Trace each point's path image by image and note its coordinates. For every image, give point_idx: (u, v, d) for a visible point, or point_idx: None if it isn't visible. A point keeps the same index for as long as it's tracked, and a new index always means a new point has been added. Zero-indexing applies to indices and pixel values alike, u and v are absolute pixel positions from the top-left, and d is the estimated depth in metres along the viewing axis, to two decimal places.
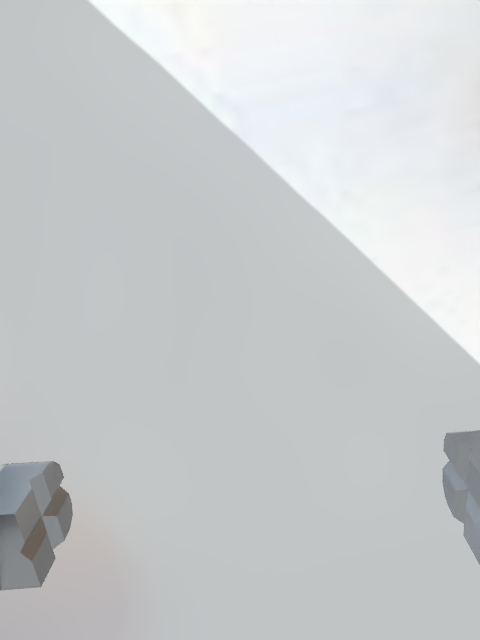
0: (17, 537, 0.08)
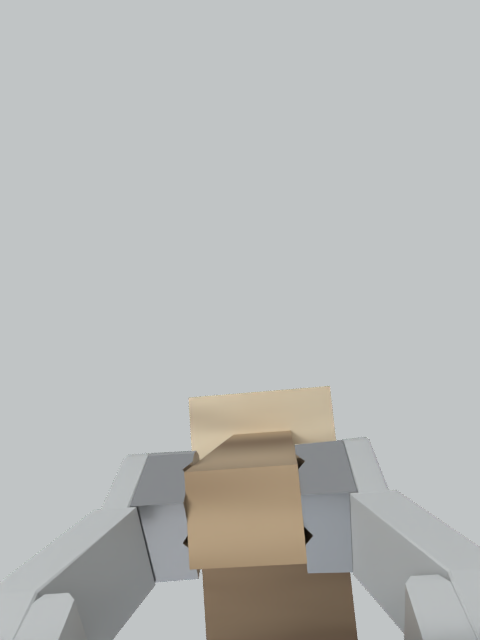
0: (182, 527, 0.08)
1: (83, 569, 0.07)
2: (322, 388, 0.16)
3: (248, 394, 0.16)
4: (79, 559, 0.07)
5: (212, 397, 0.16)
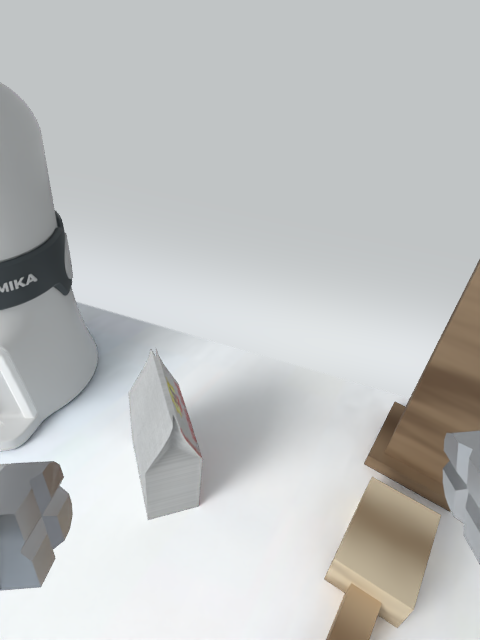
0: (17, 537, 0.08)
1: None
2: (408, 607, 0.27)
3: (367, 580, 0.28)
4: None
5: (347, 567, 0.28)
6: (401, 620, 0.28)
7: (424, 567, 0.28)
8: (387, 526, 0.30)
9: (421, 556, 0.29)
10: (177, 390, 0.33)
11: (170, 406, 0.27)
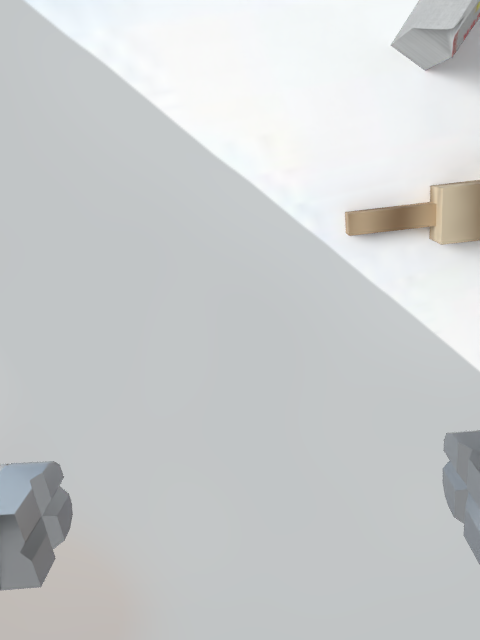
0: (17, 537, 0.08)
1: None
2: (441, 241, 0.42)
3: (442, 212, 0.41)
4: None
5: (442, 198, 0.40)
6: (433, 239, 0.43)
7: (472, 240, 0.41)
8: None
9: (479, 235, 0.41)
10: None
11: (471, 7, 0.29)
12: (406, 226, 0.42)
